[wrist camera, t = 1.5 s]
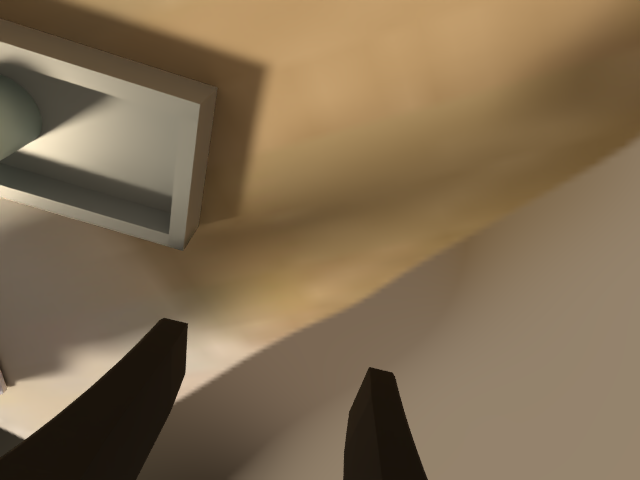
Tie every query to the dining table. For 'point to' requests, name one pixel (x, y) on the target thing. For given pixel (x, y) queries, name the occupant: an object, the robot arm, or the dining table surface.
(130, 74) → the tray
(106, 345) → the dining table surface
